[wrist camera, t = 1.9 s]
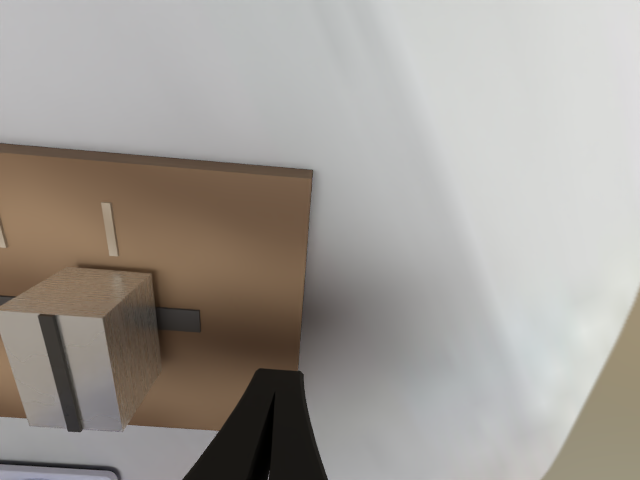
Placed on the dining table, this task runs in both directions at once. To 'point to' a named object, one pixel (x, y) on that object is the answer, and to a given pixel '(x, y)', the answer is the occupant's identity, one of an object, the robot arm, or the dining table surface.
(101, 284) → the fader knob
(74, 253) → the fader console
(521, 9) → the dining table surface
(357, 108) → the dining table surface
